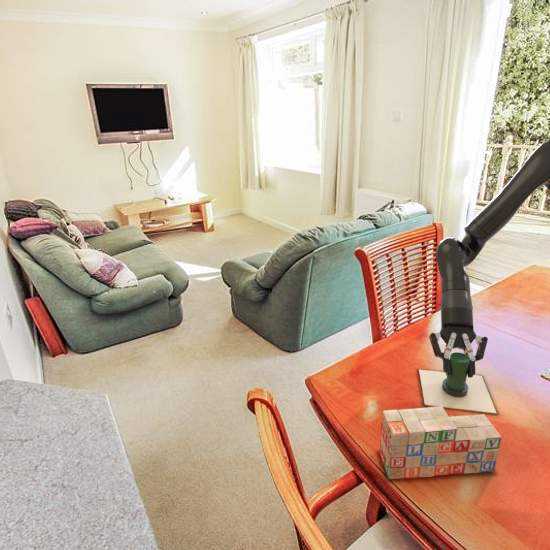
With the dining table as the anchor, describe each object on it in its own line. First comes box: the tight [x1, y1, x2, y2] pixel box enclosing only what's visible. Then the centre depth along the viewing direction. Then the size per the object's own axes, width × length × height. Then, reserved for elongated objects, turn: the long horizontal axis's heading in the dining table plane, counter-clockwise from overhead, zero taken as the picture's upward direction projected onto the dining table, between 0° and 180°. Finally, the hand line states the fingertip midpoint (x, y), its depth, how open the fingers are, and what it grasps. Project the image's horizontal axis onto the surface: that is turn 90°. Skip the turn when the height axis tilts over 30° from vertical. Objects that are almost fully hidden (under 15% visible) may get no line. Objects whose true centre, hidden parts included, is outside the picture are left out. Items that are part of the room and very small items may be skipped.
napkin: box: [418, 369, 498, 415], centre depth 97 cm, size 16×14×1 cm
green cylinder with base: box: [442, 352, 470, 397], centre depth 95 cm, size 6×6×10 cm
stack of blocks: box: [379, 406, 502, 480], centre depth 75 cm, size 21×6×12 cm, turn 92°
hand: (459, 375), depth 93 cm, fingers closed on green cylinder with base, 4 cm apart
